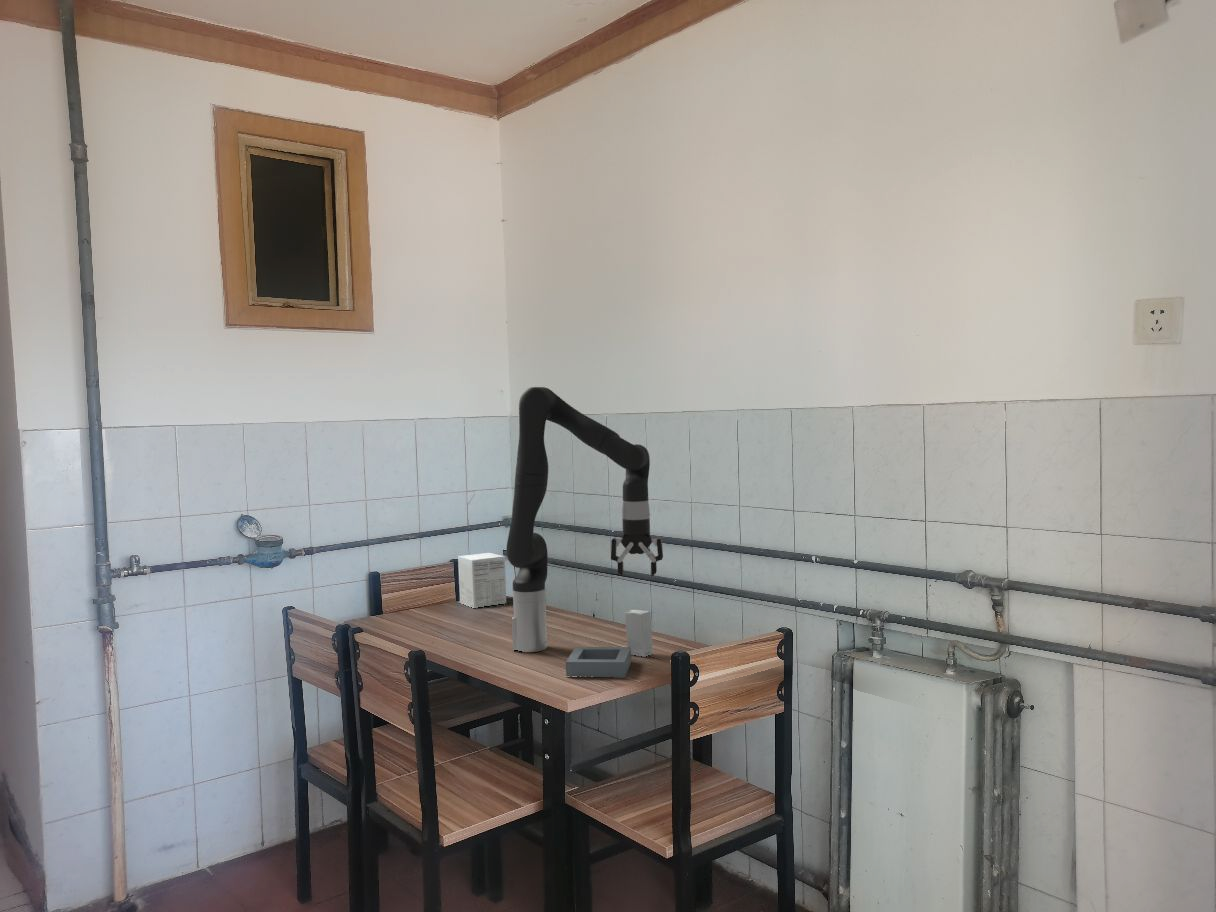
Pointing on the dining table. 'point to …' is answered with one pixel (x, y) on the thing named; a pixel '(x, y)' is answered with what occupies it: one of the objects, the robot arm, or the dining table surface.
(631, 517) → the robot arm
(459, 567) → the supplement box
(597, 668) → the socket block
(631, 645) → the skincare box
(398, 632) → the dining table surface
